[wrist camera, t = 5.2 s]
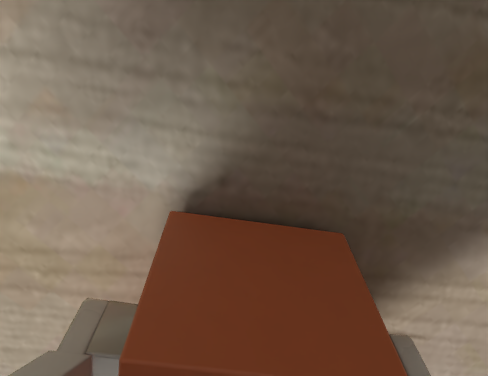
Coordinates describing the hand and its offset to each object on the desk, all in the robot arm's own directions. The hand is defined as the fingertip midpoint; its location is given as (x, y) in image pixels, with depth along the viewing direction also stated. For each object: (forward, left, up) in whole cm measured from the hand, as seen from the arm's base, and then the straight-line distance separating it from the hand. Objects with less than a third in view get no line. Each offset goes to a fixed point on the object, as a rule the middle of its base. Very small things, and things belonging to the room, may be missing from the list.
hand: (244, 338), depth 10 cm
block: (0, 0, -2) cm, 2 cm away
